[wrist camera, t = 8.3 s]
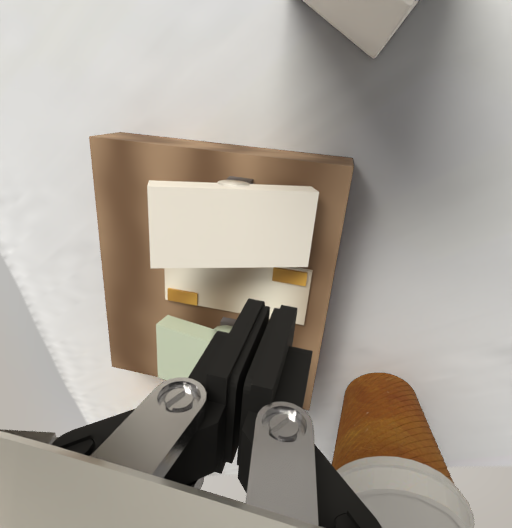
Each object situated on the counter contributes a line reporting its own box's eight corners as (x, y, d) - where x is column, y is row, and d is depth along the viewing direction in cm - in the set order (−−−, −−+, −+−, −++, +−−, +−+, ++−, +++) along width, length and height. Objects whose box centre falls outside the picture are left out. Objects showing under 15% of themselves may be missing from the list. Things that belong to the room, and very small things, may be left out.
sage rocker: (294, 345, 27) (283, 366, 25) (286, 398, 29) (275, 421, 27) (174, 308, 30) (155, 324, 28) (175, 359, 32) (157, 377, 30)
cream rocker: (306, 182, 25) (319, 192, 23) (297, 252, 27) (307, 267, 25) (150, 176, 23) (147, 186, 21) (152, 252, 25) (150, 268, 23)
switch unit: (352, 158, 27) (354, 168, 22) (312, 378, 35) (308, 416, 31) (120, 132, 30) (82, 137, 25) (134, 341, 38) (107, 371, 34)
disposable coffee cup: (416, 344, 31) (453, 472, 20) (450, 429, 34) (499, 582, 23) (310, 371, 35) (294, 493, 24) (348, 446, 37) (350, 587, 26)
